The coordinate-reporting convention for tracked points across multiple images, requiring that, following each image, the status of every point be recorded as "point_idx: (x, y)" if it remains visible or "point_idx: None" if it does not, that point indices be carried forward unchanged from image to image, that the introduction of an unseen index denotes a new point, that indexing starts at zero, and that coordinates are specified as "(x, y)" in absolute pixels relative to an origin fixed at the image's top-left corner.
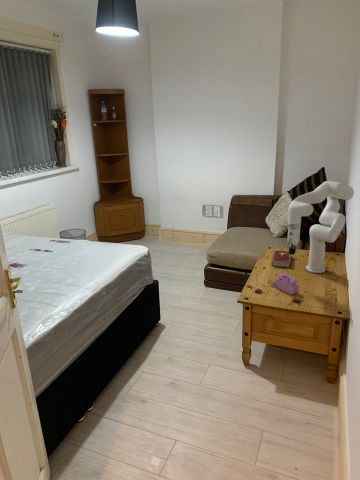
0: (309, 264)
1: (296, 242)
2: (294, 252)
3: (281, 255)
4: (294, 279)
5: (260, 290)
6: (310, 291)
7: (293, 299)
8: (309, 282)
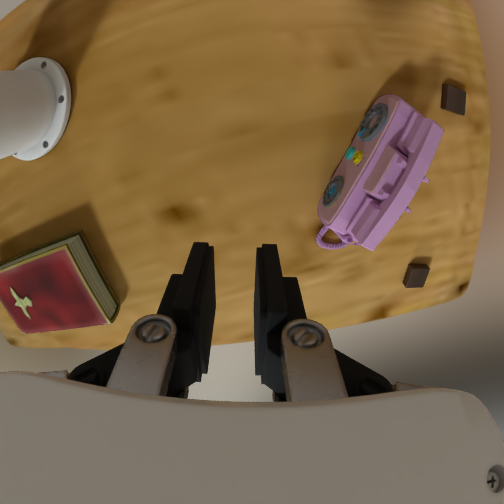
0: (31, 137)
1: (377, 461)
2: (211, 258)
3: (34, 302)
4: (437, 129)
5: (421, 269)
6: (326, 34)
7: (461, 113)
8: (204, 61)
